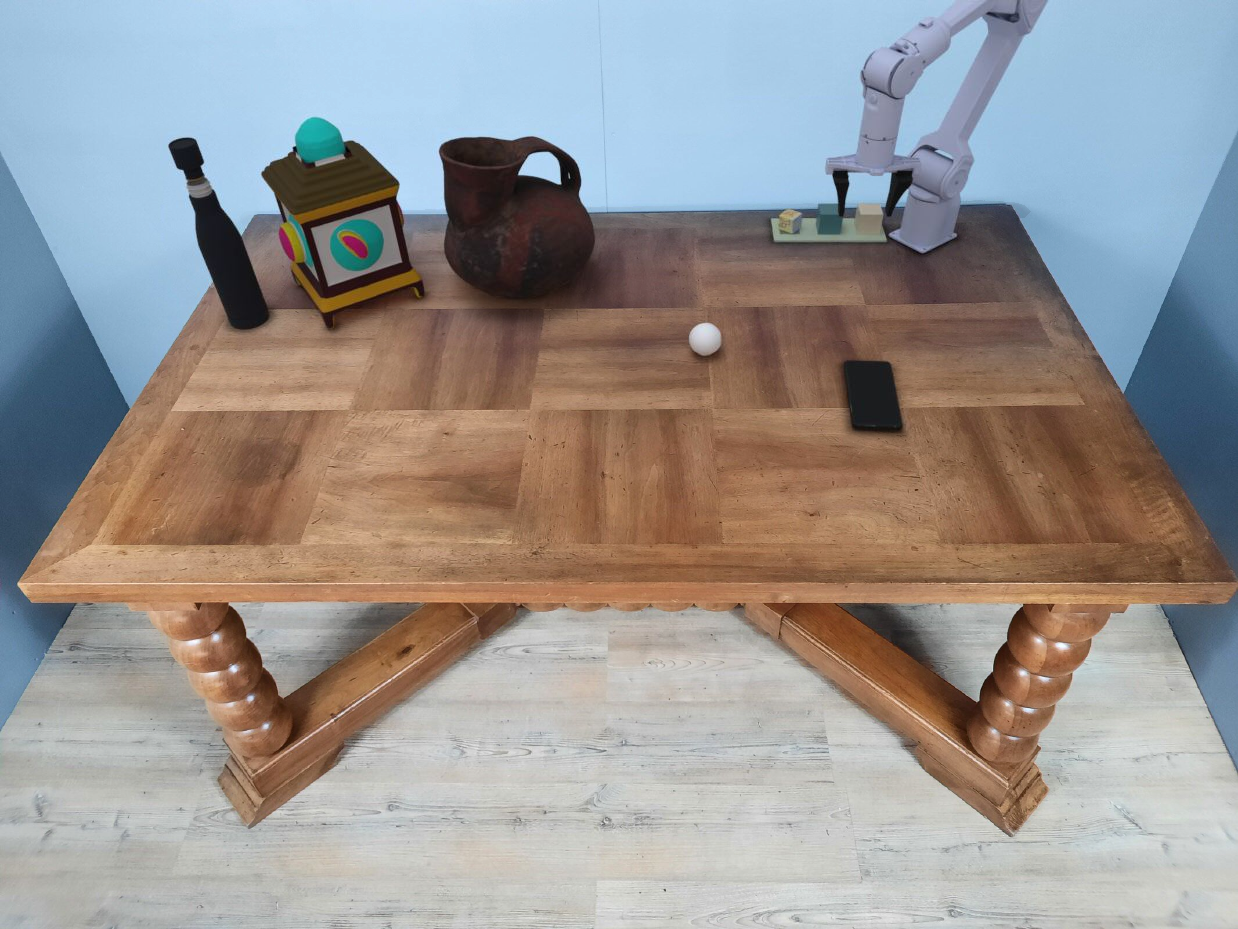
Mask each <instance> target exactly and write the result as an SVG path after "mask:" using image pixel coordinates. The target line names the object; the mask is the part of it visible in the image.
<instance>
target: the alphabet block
mask: <svg viewBox="0 0 1238 929" xmlns="http://www.w3.org/2000/svg"><path fill="white" fill-rule="evenodd" d="M778 218H779V228H778V229H779V230H782V231H785V232H788V233H791V234H794V233H795V232H796V231H797V230H798V229H800V228H801V224H802V218H803V212H800V211H796V210H794V209H792V208H791V209H790V208H787V209H785V210H784V211H783V212H781V213H780V214H779V217H778Z"/></svg>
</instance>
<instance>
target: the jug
mask: <svg viewBox="0 0 1238 929" xmlns="http://www.w3.org/2000/svg"><path fill="white" fill-rule="evenodd" d="M538 153H550V154H551V155H552V156H553V157H554V158H556V160H557V163H558V165H559V176H560V178H559V179H560V183H556V182H554V181H551V180H549V179H546V178H542V177H539V176H534V175H527V174H519V173H520V171H521V169H522V167H523V165H524V164H525V162H526V160H527V159H528V158H529V157H530V156H531V155H532V154H538ZM438 154H439V158H440V160H441V164H442V170H443V201H444V208H445V212H446V215H447V218H448V221H447V224H446V229H445V233H444V240H443V251H444V256H445V259H446V260H447V263H448V265H449V266H450V268H451V270H452V271H453V272H454V274H455V275H457V277H458V278H460V279H461V280H462V281H463V282H465V283H466V284H467V285H468V286H470V287H472V288H473V289H475V290H477V291H479V292H481V293H483V294H486V295H488V296H491V297H497V298H502V299H509V300H510V299H511V300H521V299H522V300H523V299H531V298H536V297H540V296H543V295H546V294H549V293H551V292H554V291H556V290H558V289H560V288H562V287H564V286H565V285H567V284H568V283H569V282H571V281H572V280H573V279H574V278H576V277H577V276H578V275H579V274H580V273H581V272H582V271H583V270H584V268H585V267H586V265H587V264H588V263H589V262H590V258H591V256H592V254H593V253H594V248H595V244H596V235H595V228H594V224H593V221H592V218H591V216H590V213H589V212H588V210H587V208H586V206H585V205H584V204H583V202H582V200H581V197H580V191H581V188H582V175H581V170H580V167H579V165H578V163H577V161H576V159H574V158H573V157H572V156H571V155H570V154H569V153H567V152H566V151H564V150H563V148H560V147H559V146H557V145H555V144H553V143H551V142H549V141H547V140H545V139H543V138H540V137H538V136H534V135H529V136H523V137H519V138H515V139H511V140H510V139H503V138H498V137H491V136H464V137H457V138H451V139H449V140H447V141H445V142H443V143H442V144H441V145H440V146H439V148H438Z"/></svg>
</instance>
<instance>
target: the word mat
mask: <svg viewBox="0 0 1238 929" xmlns="http://www.w3.org/2000/svg"><path fill="white" fill-rule="evenodd" d="M854 221H855V217H843V221H842V227H841V233H840V235H818V232H817V228H816V217H815V218H814V217H811V218H809V217H806V218H805V217H802V224H801V228H800V229H798V230H797V231H796V232H795V233H794V234H791V233H788V232H785V231H782V230H779V229H778V228H779V217H777V218H772V217H771V218H770V225H771V230H772V237H773V243H887V242H888V239H887V236H886V233H885V229H884V228H883V224H882V225H881V230H880V234H857V232H856V228H855V225H854Z"/></svg>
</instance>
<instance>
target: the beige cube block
mask: <svg viewBox="0 0 1238 929" xmlns="http://www.w3.org/2000/svg"><path fill="white" fill-rule="evenodd" d="M854 218H855V221H854V225H855V228H856V232H857V234H880V230H881V225H882V226H883V219H884V212H883V209H882V205H881V203H857V204H856V210H855V216H854Z"/></svg>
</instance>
